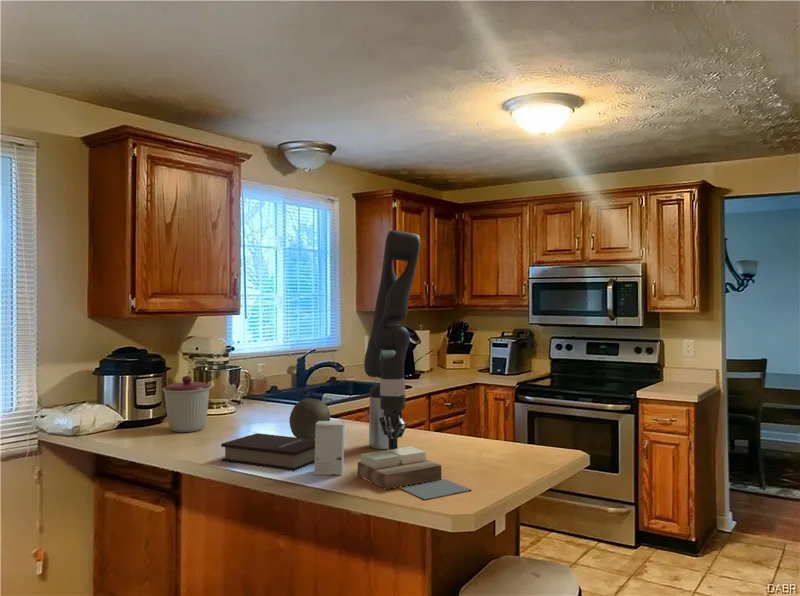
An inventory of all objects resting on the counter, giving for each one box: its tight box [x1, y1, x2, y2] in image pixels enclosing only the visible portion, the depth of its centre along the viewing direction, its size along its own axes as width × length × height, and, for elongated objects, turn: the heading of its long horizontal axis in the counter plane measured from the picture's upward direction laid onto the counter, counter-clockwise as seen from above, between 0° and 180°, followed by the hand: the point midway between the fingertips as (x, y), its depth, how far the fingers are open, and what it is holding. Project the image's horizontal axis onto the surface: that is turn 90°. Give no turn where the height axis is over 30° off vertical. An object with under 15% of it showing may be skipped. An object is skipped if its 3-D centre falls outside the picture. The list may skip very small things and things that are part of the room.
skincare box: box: [313, 420, 345, 476], centre depth 194 cm, size 8×6×15 cm
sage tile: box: [360, 449, 399, 469], centre depth 188 cm, size 8×8×2 cm
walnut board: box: [357, 459, 442, 490], centre depth 188 cm, size 16×18×4 cm
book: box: [220, 432, 315, 472], centre depth 212 cm, size 28×20×6 cm
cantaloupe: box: [289, 397, 331, 439], centre depth 238 cm, size 14×14×15 cm
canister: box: [162, 375, 212, 433], centre depth 258 cm, size 18×18×21 cm
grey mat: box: [399, 478, 472, 501], centre depth 177 cm, size 12×15×1 cm
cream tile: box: [387, 446, 427, 464], centre depth 193 cm, size 8×8×2 cm
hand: (393, 450), depth 200 cm, fingers closed
